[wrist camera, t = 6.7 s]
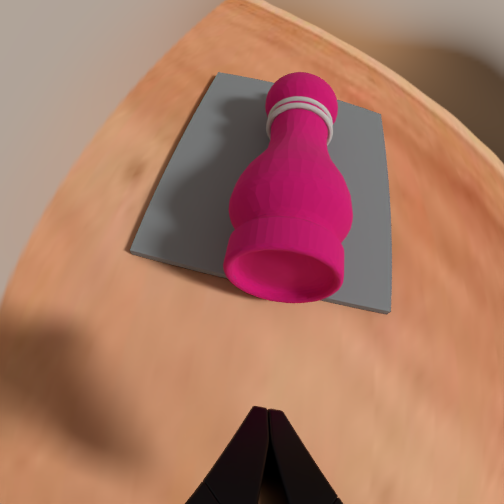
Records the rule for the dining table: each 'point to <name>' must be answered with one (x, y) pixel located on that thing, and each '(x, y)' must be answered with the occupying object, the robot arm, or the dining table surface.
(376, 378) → the dining table surface
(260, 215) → the pepper mill
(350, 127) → the mat
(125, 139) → the dining table surface
